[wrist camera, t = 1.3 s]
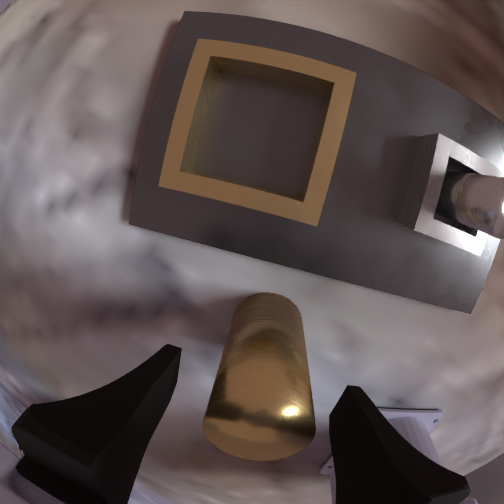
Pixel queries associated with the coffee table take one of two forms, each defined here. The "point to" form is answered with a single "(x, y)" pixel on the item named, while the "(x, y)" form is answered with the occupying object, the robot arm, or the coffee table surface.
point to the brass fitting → (262, 383)
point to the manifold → (322, 160)
